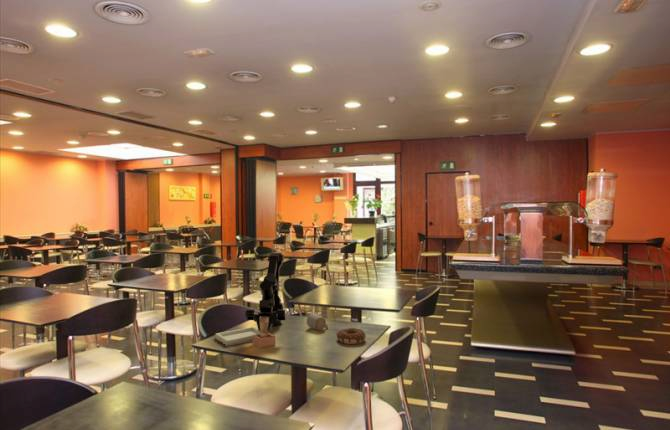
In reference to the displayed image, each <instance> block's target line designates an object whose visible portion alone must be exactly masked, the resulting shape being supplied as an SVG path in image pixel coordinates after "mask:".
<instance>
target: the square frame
mask: <svg viewBox="0 0 670 430" xmlns="http://www.w3.org/2000/svg"><path fill="white" fill-rule="evenodd" d="M252 344H253V345H255V346H257V347H258V348H260V349H262V348H266V347H272V346H276V336H275V334H274V335H273V334H272V333H270V332H268V337H265V338H260V334H257V335H253V341H252Z"/></svg>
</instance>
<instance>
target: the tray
mask: <svg viewBox="0 0 670 430" xmlns="http://www.w3.org/2000/svg"><path fill="white" fill-rule="evenodd" d="M257 334H260V331H258V327H257V328H256V327H255V326H251V327H250V326H249V327H244V328H238V329H233V330H227V331H222V332H216V333H215V339H216V341H219V342H220V343H221V342H222V343H221V344H223V345H224V344H225V346H226V347H230V346H235V345H239V344H246V343H249V342H253V335H257Z"/></svg>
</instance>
